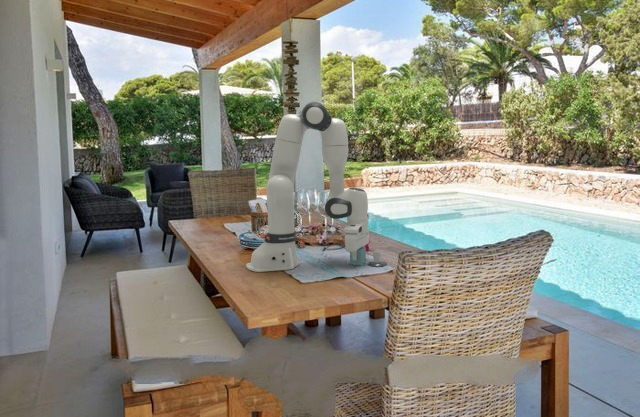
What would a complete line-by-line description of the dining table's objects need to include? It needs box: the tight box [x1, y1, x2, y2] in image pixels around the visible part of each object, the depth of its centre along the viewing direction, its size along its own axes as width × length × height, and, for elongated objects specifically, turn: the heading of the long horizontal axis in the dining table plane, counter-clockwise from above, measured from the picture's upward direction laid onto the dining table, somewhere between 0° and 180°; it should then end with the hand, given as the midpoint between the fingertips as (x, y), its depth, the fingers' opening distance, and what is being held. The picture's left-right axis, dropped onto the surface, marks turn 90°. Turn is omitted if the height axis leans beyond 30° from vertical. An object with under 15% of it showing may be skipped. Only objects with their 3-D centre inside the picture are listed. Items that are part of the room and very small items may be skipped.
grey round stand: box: [367, 250, 388, 268], centre depth 249 cm, size 8×8×6 cm
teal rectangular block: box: [349, 247, 367, 266], centre depth 252 cm, size 5×5×7 cm
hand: (358, 257), depth 252 cm, fingers open, 6 cm apart
